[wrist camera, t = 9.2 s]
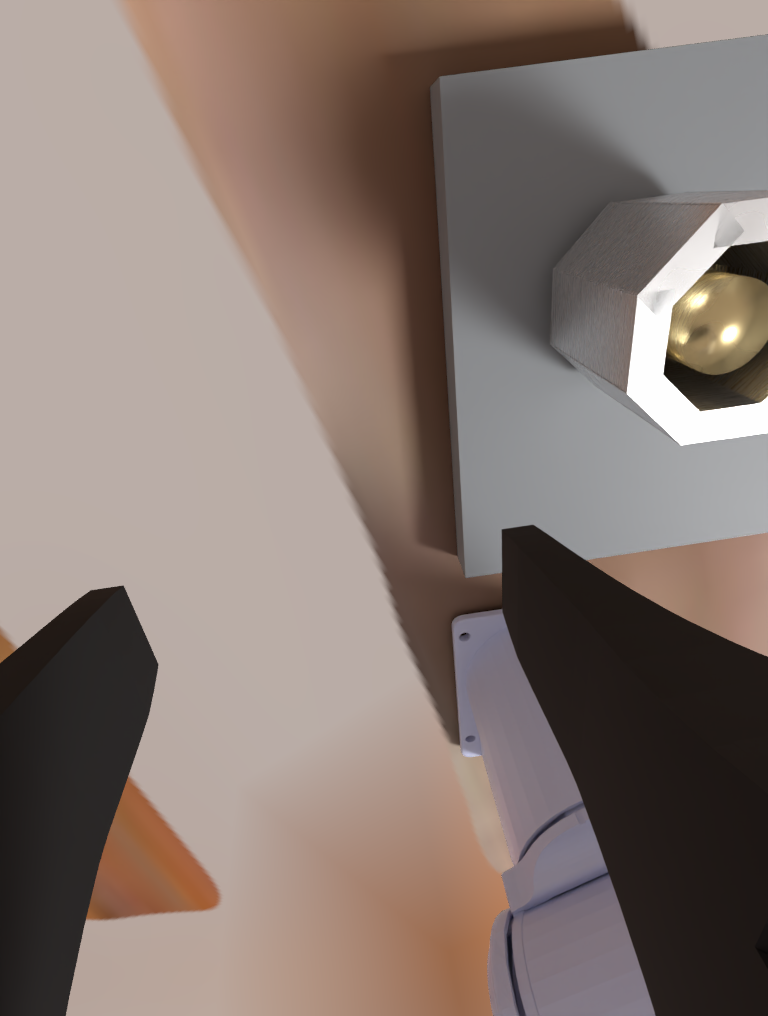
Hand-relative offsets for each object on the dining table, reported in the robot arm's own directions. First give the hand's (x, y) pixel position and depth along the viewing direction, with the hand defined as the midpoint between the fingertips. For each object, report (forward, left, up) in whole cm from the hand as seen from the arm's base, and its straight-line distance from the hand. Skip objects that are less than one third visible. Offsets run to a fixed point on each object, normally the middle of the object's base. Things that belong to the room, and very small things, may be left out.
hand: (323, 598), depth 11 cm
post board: (+1, -16, -10) cm, 19 cm away
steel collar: (+3, -10, -8) cm, 13 cm away
